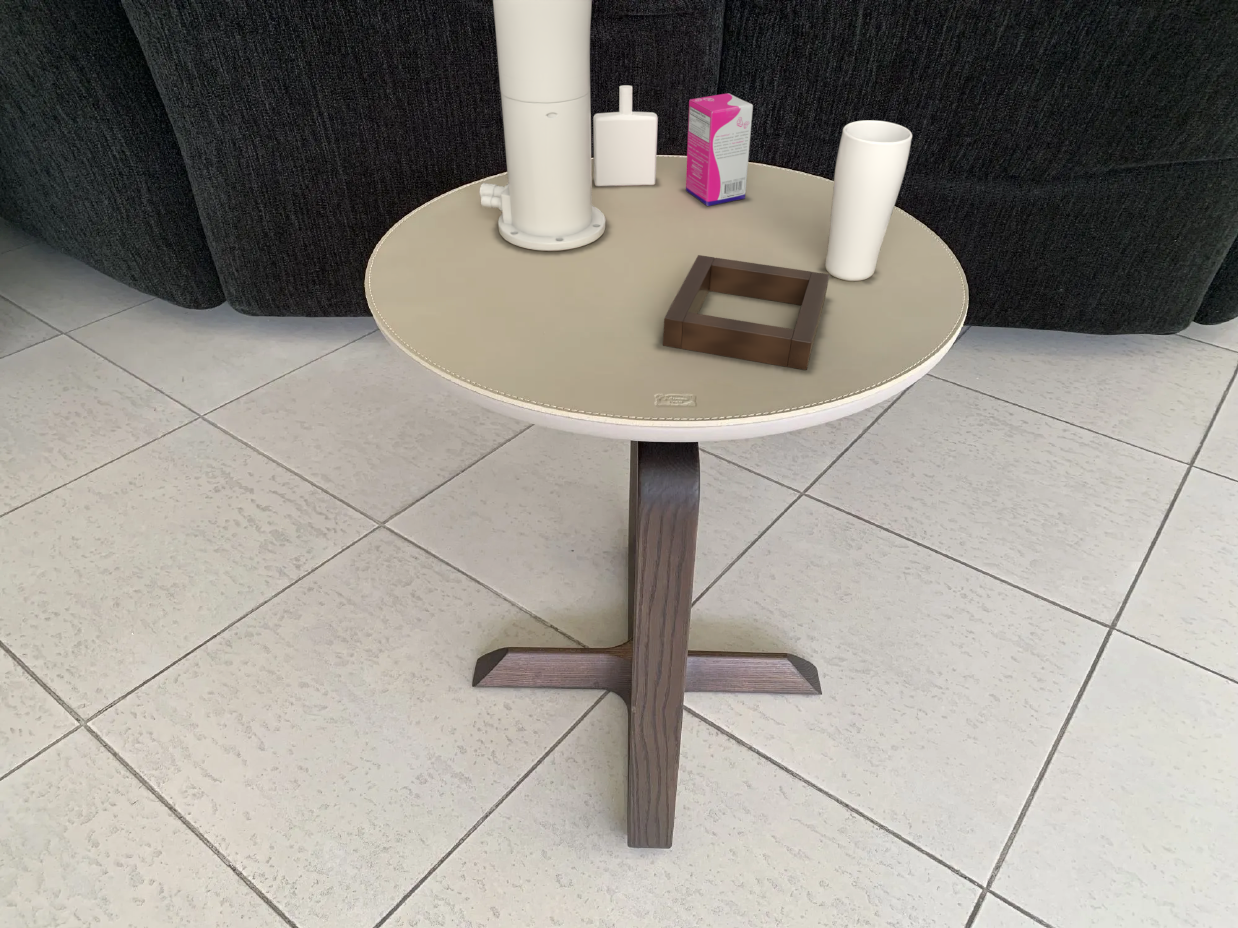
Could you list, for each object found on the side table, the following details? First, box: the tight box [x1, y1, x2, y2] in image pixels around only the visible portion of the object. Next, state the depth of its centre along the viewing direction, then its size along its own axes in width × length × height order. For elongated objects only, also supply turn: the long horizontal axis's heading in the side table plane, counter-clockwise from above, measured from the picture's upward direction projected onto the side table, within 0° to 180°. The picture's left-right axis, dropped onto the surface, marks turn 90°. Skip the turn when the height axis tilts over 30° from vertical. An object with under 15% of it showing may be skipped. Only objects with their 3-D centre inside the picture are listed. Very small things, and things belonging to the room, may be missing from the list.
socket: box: [662, 254, 830, 371], centre depth 81 cm, size 14×14×3 cm
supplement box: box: [685, 92, 754, 207], centre depth 103 cm, size 6×6×12 cm
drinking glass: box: [824, 119, 913, 282], centre depth 86 cm, size 7×7×15 cm
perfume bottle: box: [592, 84, 659, 187], centre depth 105 cm, size 8×2×12 cm, turn 95°
